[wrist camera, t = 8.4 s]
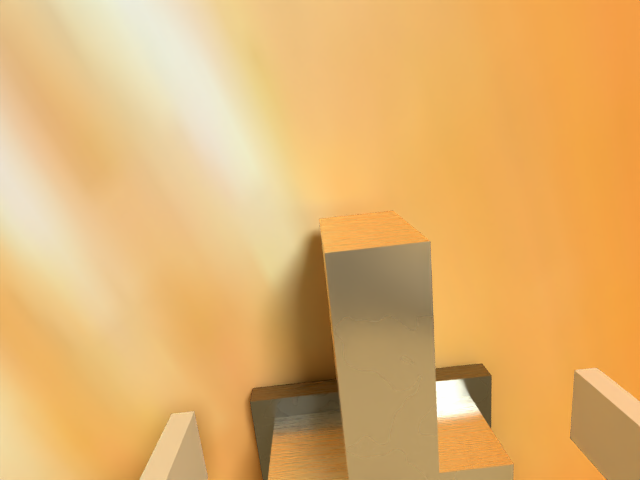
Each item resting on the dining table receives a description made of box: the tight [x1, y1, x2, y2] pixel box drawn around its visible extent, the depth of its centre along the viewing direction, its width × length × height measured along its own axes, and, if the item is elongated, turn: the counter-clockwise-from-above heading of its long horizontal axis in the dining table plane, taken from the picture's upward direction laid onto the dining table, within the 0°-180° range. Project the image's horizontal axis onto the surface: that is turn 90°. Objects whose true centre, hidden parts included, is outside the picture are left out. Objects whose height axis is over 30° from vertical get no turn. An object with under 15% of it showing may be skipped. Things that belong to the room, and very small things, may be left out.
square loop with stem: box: [268, 211, 513, 480], centre depth 16 cm, size 18×9×5 cm, turn 6°
